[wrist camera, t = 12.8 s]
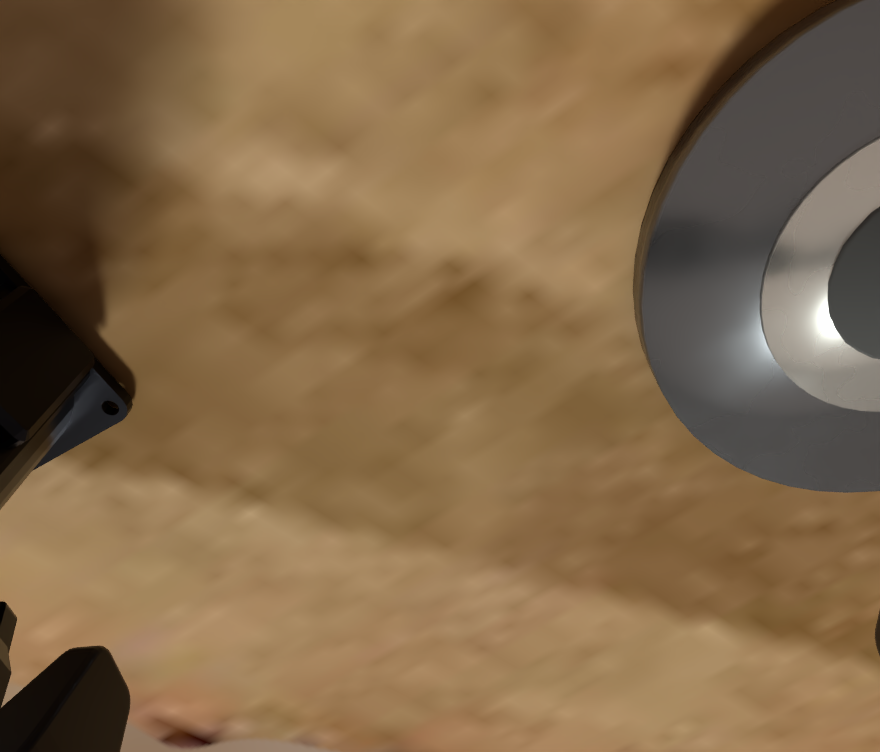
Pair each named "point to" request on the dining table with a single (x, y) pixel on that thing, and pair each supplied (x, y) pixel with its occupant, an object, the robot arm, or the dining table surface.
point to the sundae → (858, 288)
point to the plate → (771, 258)
